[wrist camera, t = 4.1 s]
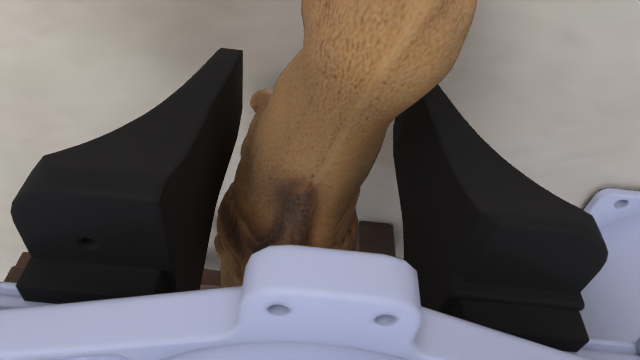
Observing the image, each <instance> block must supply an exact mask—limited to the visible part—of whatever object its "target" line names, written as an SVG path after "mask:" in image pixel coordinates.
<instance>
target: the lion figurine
mask: <svg viewBox="0 0 640 360" xmlns="http://www.w3.org/2000/svg"><path fill="white" fill-rule="evenodd" d="M476 4H477V0H302V5H301V12H302V19H303V24H304V31H305V33H304V44H303V48H302V49H301V50H300V52H299V53H298V54H297V55H296V56H295V58H294V59H293V60H292V61H291V62H290V63H289V65H288V66H287V67H286V68H285V70H284V71H283V72H282V74H281V75H280V77H279V78H278V80H277V82H276V84H275V86H274V89H271V88H267V89H263V90H260V91H257V92H256V93H254V94H253V96H252V98H251V101H250V106H251V107H252V108H253V109H254V111H255V113H256V114H255V116H254V118H253V120H252V122H251V124H250V127H249V130H248V133H247V136H246V137H245V139H244V141H243V144H242V146H241V160H240V162H239V164H238V168H237V171H236V175H235V179H234V182H233V183H232V184H231V185H230V187H229V189H228V191H227V192H226V193H225V195H224V197H223V200H222V202H221V204H220V207H219V210H218V218H217V232H218V234H217V236H216V237H215V240H214V244H215V248H216V251H217V253H218V256H219V258H220V263H221V286H222V288H226V287H236V286H242V285H243V279H244V273H245V268H246V265H247V263H248V261H249V259H250V257H251V255H252V254H254V253H256V252H258V251H260V250H262V249H264V248H267V247H269V246H275V245H299V246H309V247H319V248H328V249H338V250H348V251H356V245H357V230H358V218H357V214H356V209H355V206H356V203H357V200H358V197H359V193H360V186H361V185H362V183H363V182H364V180H365V179H366V177H367V176H368V174H369V172H370V170H371V168H372V166H373V164H374V162H375V160H376V158H377V155H378V153H379V151H380V149H381V146H382V143H383V140H384V137H385V134H386V131H387V128H388V126H389V125H390V123H391V122H392V121H393V120H394V119H395V118H396V117H397V116H398V115H399V114H401V113H402V112H403V111H405V110H406V109H407V108H409V107H410V106H411V105H413V104H414V103H416V102H417V101H418V100H419V99H421V98H422V97H423V96H424V95H426V94H427V93H428V92H429V91H430V90H432V89H433V88H434V87H435V86H436V85H437V84H438V83H439V82H440V81H441V80H442V79H443V78H444V77H445V76H446V75H447V74H448V72H449V71H450V70H451V68H452V66H453V65H454V63H455V61H456V59H457V57H458V55H459V53H460V50H461V48H462V45H463V43H464V41H465V38H466V36H467V33H468V31H469V28H470V26H471V23H472V20H473V16H474V13H475V9H476Z"/></svg>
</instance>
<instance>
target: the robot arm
mask: <svg viewBox="0 0 640 360" xmlns="http://www.w3.org/2000/svg"><path fill="white" fill-rule="evenodd" d="M242 90H243V50H235V49H226V48H220V49H219V50H218V51H217V52H216V53H215V54H214V55H213V56H212V57H211V58H210V59H209V60H208V61H207V62H206V63H205V64H204V65H203V66H202V67H201V68H200V70H199V71H198V72H197V73H195V74H194V75H193V76H192V77H191V78H190V79H189V80H188V81H187V82H186V83H185V84H184V85H183V86H182V87H180V88H179V89H178V90H177V91H176V92H174V93H173V94H172V95H171V96H169V97H168V98H167V99H166V100H165V101H163V102H162V103H161V104H159V105H158V106H156V107H155V108H153V109H152V110H150V111H149V112H147V113H146V114H144V115H143V116H141V117H139V118H137V119H135V120H134V121H132V122H130V123H128V124H126V125H124V126H122V127H120V128H118V129H116V130H114V131H112V132H110V133H108V134H106V135H103V136H101V137H99V138H96V139H94V140H91V141H88V142H86V143H83V144H80V145H78V146H74V147H71V148H68V149H65V150H62V151H58V152H55V153H52V154H48V155H45V156H43V157H42V159H41V160H40V161H39V162H38V164H37V165H36V166H35V168H34V169H33V170H32V172H31V173H30V175H29V176H28V178H27V179H26V181H25V183H24V184H23V186H22V187H21V189H20V191H19V192H18V194H17V196H16V197H15V199H14V200H13V202H12V207H11V215H12V218H13V222H14V224H15V226H16V228H17V230H18V232H19V234H20V235H21V237H22V239H23V241H24V243H25V245H26V247H27V249H28V251H29V253H30V255H31V258H30V259H29V261H28V263H27V265H26V267H25V269H24V271H23V273H22V274H21V276H20V278H19V280H18V282H17V283H10V282H0V360H640V191H632V190H623V189H613V188H607V189H603V190H601V191H599V192H598V193H596V194H595V195H594V197H593V198H592V199H591V201H590V202H589V203H588V205H587V206H586V207H585V209H584V210H581V209H580V208H578V207H576V206H574V205H572V204H570V203H568V202H566V201H564V200H562V199H561V198H559V197H557V196H556V195H554V194H552V193H551V192H549V191H548V190H546V189H544V188H543V187H541V186H540V185H538V184H537V183H535V182H534V181H532V180H531V179H529V178H528V177H526V176H525V175H524V174H522V173H521V172H520V171H519V170H517V169H516V168H515V167H513V166H512V165H511V164H509V163H508V162H507V161H506V160H505V159H503V158H502V157H501V156H500V155H499V154H498V153H497V152H496V151H495V150H493V149H492V148H491V147H490V146H489V145H488V144H487V143H486V142H485V141H484V140H483V139H482V138H481V137H480V136H479V135H478V134H477V133H476V131H475V130H474V129H473V128H472V127H471V126H470V125H469V124H468V122H467V121H466V120H465V119H464V118H463V117H462V115H461V114H460V113H459V112H458V110H457V109H456V108H455V107H454V105H453V104H452V103H451V101H450V100H449V99H448V97H447V96H446V94H445V93H444V92H443V90H442V89H441V88H440V86H439V85H438V84H437V85H436V86H435V87H434V88H433V89H432V90H430V91H429V92H428V93H427V94H426V95H424V96H423V97H422V98H421V99H419V100H418V101H417V102H416V103H414V104H413V105H411V106H410V107H409V108H407V109H406V110H405V111H403V112H402V113H401V114H399V115H398V116H397V117H396V118H395V122H394V125H393V156H394V163H395V170H396V178H397V184H398V191H399V198H400V205H401V211H402V220H403V239H404V260H403V259H400V258H396V257H393V256H389V255H385V254H377V253H368V252H358V251H348V250H338V249H328V248H319V247H309V246H299V245H275V246H269V247H267V248H264V249H262V250H260V251H258V252H256V253H254V254H252V255H251V257H250V259H249V261H248V263H247V265H246V268H245V273H244V279H243V285H242V286H236V287H226V288H216V289H206V290H200V287H201V281H202V275H203V270H204V264H205V259H206V253H207V248H208V243H209V237H210V232H211V227H212V222H213V217H214V212H215V207H216V203H217V200H218V196H219V193H220V190H221V186H222V183H223V180H224V177H225V174H226V171H227V168H228V165H229V162H230V159H231V155H232V152H233V149H234V146H235V143H236V140H237V136H238V131H239V125H240V119H241V114H242Z"/></svg>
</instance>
